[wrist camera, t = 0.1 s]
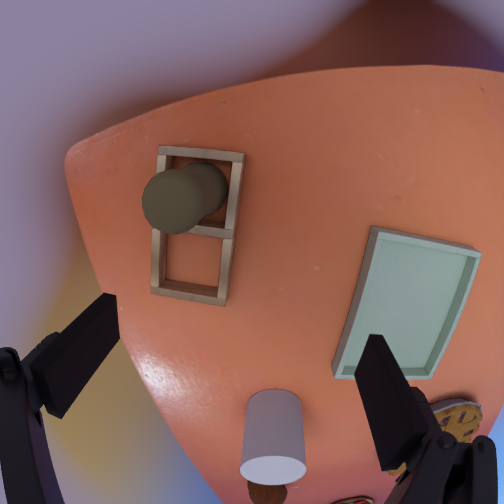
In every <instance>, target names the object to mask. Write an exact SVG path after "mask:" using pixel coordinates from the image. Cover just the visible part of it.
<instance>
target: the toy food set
mask: <svg viewBox="0 0 504 504" xmlns="http://www.w3.org/2000/svg"><path fill="white" fill-rule="evenodd" d="M334 504H373V501H372V500H370V499H368V498H363V497H359V498H351V499H346V500H342V501H339V502H337V503H334Z"/></svg>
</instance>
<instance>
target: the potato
mask: <svg viewBox="0 0 504 504" xmlns="http://www.w3.org/2000/svg"><path fill="white" fill-rule="evenodd" d="M248 490H249V495H250V498H251V500H252V501H253V503H254V504H283V502H284V501H285V499H286V496H287V489H286V487H285V486H284V484H282V485H264V484H258V483H254V482H252V481H249V480H248Z"/></svg>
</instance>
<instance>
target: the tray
mask: <svg viewBox="0 0 504 504" xmlns="http://www.w3.org/2000/svg"><path fill="white" fill-rule="evenodd" d="M481 255H482V253H481V252H480V251H478V250H476V249H474V248H473V247H470V246H466V245H461V244H457V243H453V242H448V241H444V240H439V239H435V238H430V237H425V236H421V235H416V234H411V233H406V232H401V231H396V230H391V229H386V228H381V227H376V226H371V230H370V234H369V239H368V243H367V247H366V251H365V255H364V259H363V263H362V267H361V271H360V275H359V279H358V282H357V286H356V290H355V293H354V297H353V300H352V304H351V307H350V311H349V314H348V317H347V320H346V324H345V327H344V330H343V333H342V336H341V339H340V342H339V345H338V348H337V351H336V354H335V357H334V360H333V363H332V366H331V368H332V372H333V376H334V378H335V379H355V377H354V373H355V370H356V368H357V365H358V363H359V360H360V358H361V355H362V353H363V350H364V347H365V345H366V342H367V339H368V337H369V334H381V335H383V336H384V338H385V340H386V342H387V344H388V346H389V347H390V349H391V351H392V353H393V355H394V357H395V359H396V361H397V363H398V364H399V366H400V368H401V370H402V372H403V374H404V376H405V378H406V380H429V379H431V377H432V375H433V374H434V372H435V370H436V368H437V366H438V364H439V362H440V360H441V358H442V356H443V354H444V352H445V350H446V348H447V346H448V343H449V341H450V339H451V337H452V335H453V332H454V330H455V328H456V325H457V323H458V321H459V318H460V316H461V313H462V311H463V308H464V306H465V303H466V300H467V298H468V295H469V292H470V289H471V287H472V284H473V281H474V278H475V275H476V272H477V268H478V265H479V262H480V258H481Z"/></svg>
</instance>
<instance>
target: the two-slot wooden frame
mask: <svg viewBox="0 0 504 504" xmlns="http://www.w3.org/2000/svg"><path fill="white" fill-rule="evenodd" d="M174 156H181V157H193V158H203V159H213V160H222V161H231V162H232V170H231V178H230V186H229V194H228V202H227V211H226V219H225V223H219V222H212V221H204V220H200V221H199V222H198V224H197V225H196V226H195V227H193V228H192V229H190V230H189V231H187V232H184V233H191V234H198V235H205V236H212V237H219V238H223V246H222V255H221V265H220V274H219V284H218V288H214V287H208V286H202V285H196V284H190V283H184V282H178V281H172V280H167V279H165V276H166V249H167V234H166V233H163V232H161V231H158V230H157V229H156V228H154V227H153V226H152V248H151V294H155V295H161V296H166V297H171V298H177V299H182V300H188V301H193V302H199V303H205V304H211V305H217V306H223V307H225V306H226V302H227V299H228V294H229V285H230V276H231V268H232V260H233V251H234V243H235V234H236V227H237V219H238V211H239V203H240V195H241V188H242V180H243V172H244V165H245V163H244V162H245V158H246V153H241V152H232V151H223V150H214V149H203V148H192V147H179V146H163V145H159V148H158V156H157V166H156V175H157V174H158V173H159V172H162V171H165V170H168V169H172V168H173V159H174Z"/></svg>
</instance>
